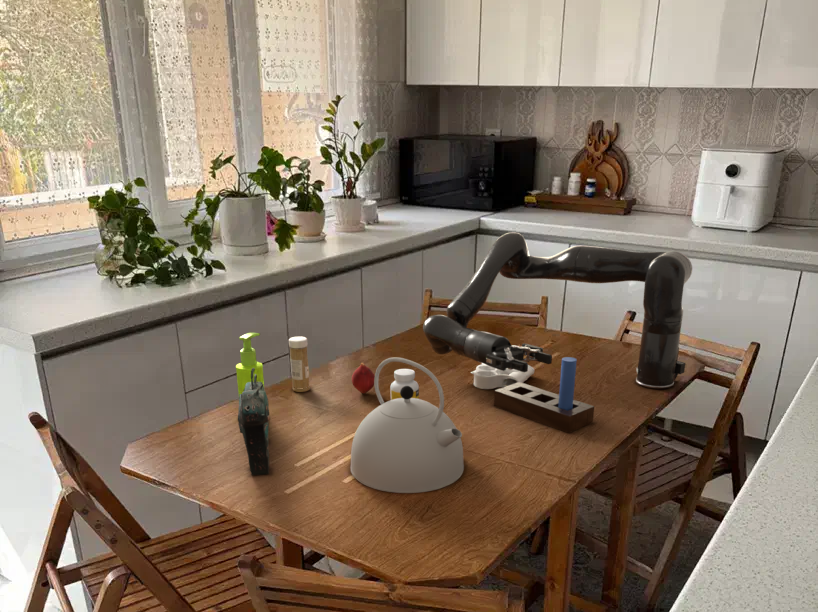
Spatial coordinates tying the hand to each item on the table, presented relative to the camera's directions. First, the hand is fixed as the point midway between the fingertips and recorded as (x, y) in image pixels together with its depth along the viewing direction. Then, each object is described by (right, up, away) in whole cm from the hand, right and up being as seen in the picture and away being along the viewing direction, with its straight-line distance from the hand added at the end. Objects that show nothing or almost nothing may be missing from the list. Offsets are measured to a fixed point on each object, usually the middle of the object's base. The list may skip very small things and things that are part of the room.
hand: (539, 363), depth 179 cm
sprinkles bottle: (-57, -5, +20) cm, 61 cm away
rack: (+1, -11, +3) cm, 12 cm away
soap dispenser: (-65, -13, +2) cm, 67 cm away
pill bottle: (-31, -13, +1) cm, 33 cm away
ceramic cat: (-61, -21, -18) cm, 67 cm away
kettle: (-29, -23, -23) cm, 44 cm away
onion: (-41, -6, +17) cm, 45 cm away
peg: (+6, -13, -1) cm, 15 cm away
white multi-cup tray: (-6, -2, +26) cm, 27 cm away
